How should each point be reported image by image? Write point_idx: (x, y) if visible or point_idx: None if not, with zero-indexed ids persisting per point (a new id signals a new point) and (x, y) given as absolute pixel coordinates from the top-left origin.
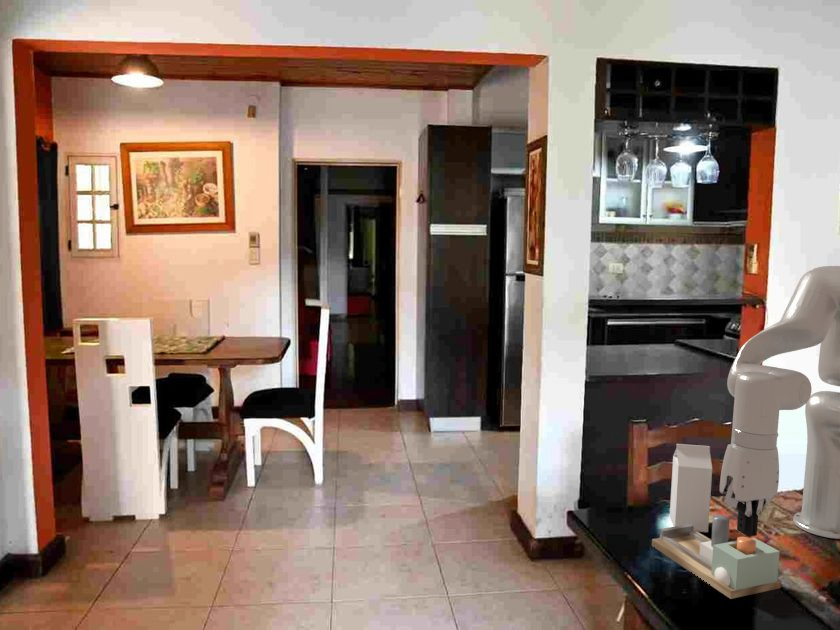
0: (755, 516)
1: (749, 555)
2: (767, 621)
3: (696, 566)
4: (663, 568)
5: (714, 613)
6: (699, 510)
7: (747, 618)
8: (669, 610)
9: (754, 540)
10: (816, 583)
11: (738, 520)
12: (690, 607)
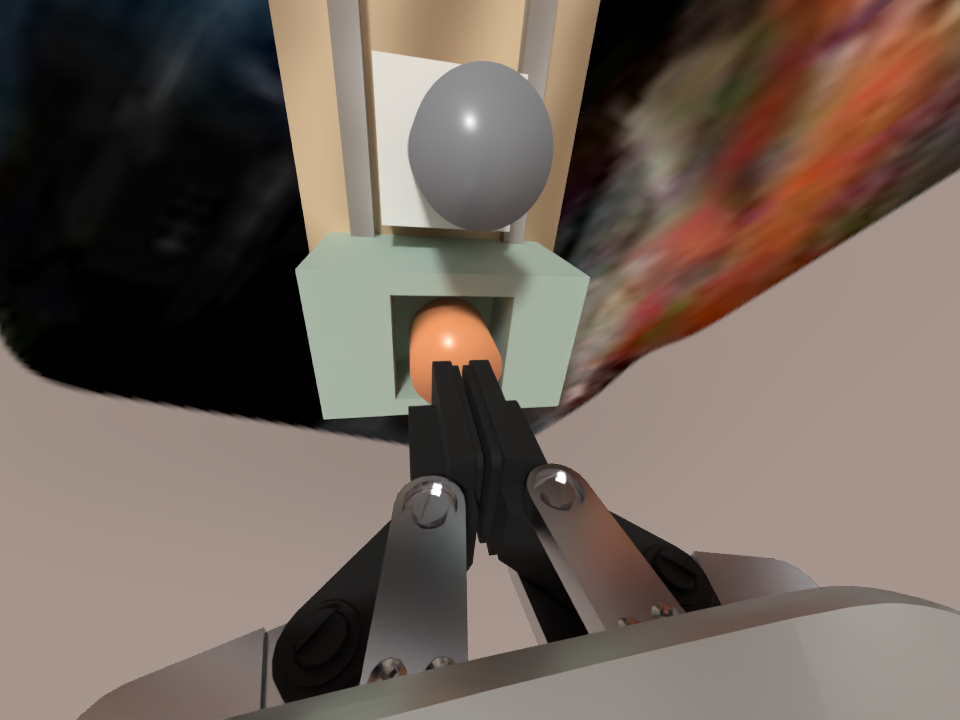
0: (489, 546)
1: (408, 404)
2: (354, 433)
3: (305, 142)
4: (156, 2)
5: (220, 378)
6: None
7: (310, 415)
8: (38, 326)
9: (497, 380)
10: (634, 342)
11: (411, 441)
12: (145, 333)
